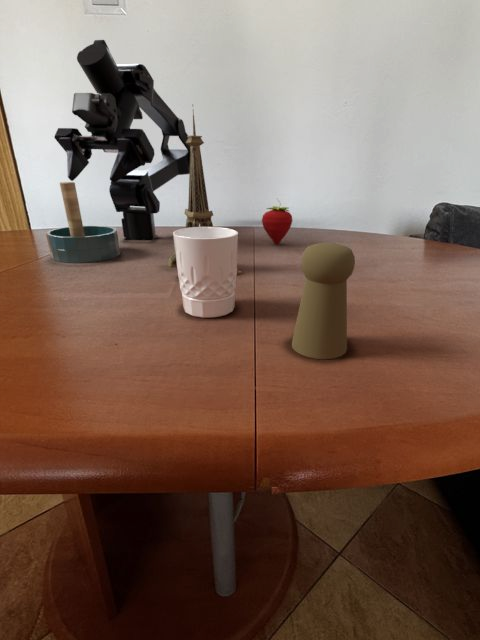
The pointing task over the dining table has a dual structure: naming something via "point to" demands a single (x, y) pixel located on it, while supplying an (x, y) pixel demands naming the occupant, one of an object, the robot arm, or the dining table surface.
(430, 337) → the dining table surface
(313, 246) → the cork
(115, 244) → the bowl
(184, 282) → the white cup
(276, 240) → the strawberry
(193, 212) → the eiffel tower
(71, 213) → the stick
